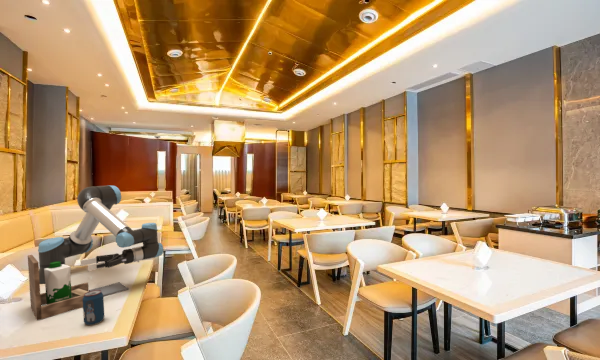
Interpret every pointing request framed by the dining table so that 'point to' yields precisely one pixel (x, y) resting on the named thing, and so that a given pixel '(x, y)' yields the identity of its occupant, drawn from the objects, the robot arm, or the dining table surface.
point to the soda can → (93, 307)
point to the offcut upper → (78, 292)
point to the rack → (40, 299)
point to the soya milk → (57, 282)
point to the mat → (111, 289)
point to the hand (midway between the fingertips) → (84, 265)
